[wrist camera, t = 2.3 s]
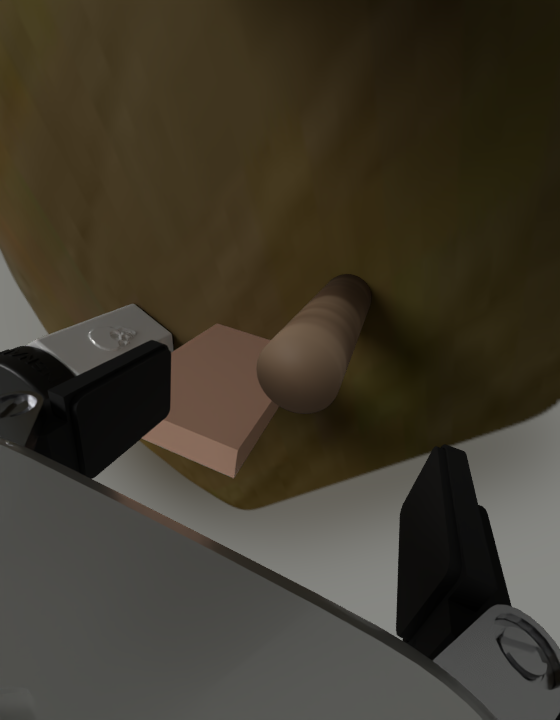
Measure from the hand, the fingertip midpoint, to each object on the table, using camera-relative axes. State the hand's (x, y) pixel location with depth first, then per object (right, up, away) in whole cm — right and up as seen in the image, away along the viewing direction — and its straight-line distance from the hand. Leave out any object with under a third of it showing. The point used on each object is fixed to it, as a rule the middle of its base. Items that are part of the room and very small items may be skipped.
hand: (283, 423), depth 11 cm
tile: (-2, +3, +16) cm, 16 cm away
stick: (+5, +7, +12) cm, 14 cm away
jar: (-14, +4, +21) cm, 25 cm away
